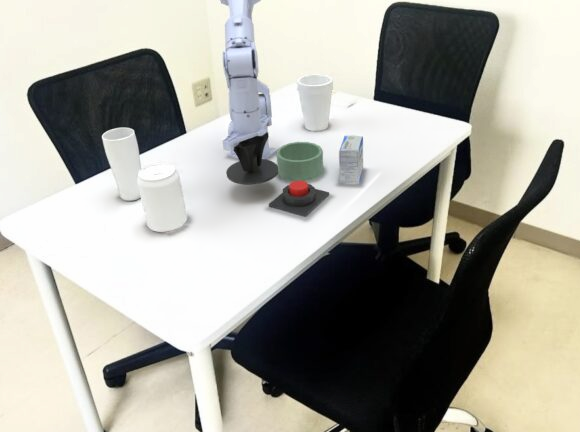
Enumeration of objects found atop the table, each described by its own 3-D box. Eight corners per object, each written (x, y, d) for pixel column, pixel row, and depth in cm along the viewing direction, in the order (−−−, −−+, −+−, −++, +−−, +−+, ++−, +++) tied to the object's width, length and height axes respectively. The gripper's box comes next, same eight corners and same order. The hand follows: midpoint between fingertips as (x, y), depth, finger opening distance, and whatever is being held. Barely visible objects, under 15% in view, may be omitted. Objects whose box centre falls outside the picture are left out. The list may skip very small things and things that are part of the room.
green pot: (269, 177, 129) (267, 156, 126) (293, 159, 136) (292, 138, 133) (308, 186, 124) (307, 165, 121) (330, 167, 131) (330, 146, 128)
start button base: (268, 209, 117) (267, 196, 115) (293, 187, 124) (293, 176, 122) (305, 219, 113) (305, 206, 111) (329, 197, 120) (329, 184, 118)
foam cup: (302, 119, 157) (300, 74, 150) (334, 119, 156) (334, 74, 149) (297, 133, 149) (294, 86, 142) (331, 133, 148) (330, 86, 141)
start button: (285, 194, 116) (285, 187, 115) (295, 186, 119) (295, 178, 118) (302, 198, 115) (301, 191, 114) (311, 190, 117) (311, 182, 116)
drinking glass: (138, 185, 128) (124, 124, 120) (154, 195, 124) (140, 132, 116) (111, 196, 124) (95, 134, 116) (127, 206, 120) (111, 143, 112)
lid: (216, 180, 119) (213, 161, 116) (246, 158, 127) (244, 140, 124) (259, 192, 114) (257, 172, 111) (288, 169, 122) (287, 150, 119)
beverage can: (144, 218, 116) (132, 167, 109) (182, 209, 118) (173, 158, 112) (151, 238, 109) (139, 184, 103) (192, 227, 112) (182, 175, 105)
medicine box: (359, 186, 123) (359, 150, 118) (339, 185, 124) (338, 149, 119) (363, 169, 130) (363, 135, 125) (344, 168, 130) (343, 134, 126)
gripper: (240, 124, 105) (247, 187, 112) (281, 98, 115) (285, 157, 123) (210, 118, 108) (219, 179, 116) (253, 93, 119) (259, 151, 126)
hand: (252, 167), depth 119 cm, fingers closed on lid, 2 cm apart
